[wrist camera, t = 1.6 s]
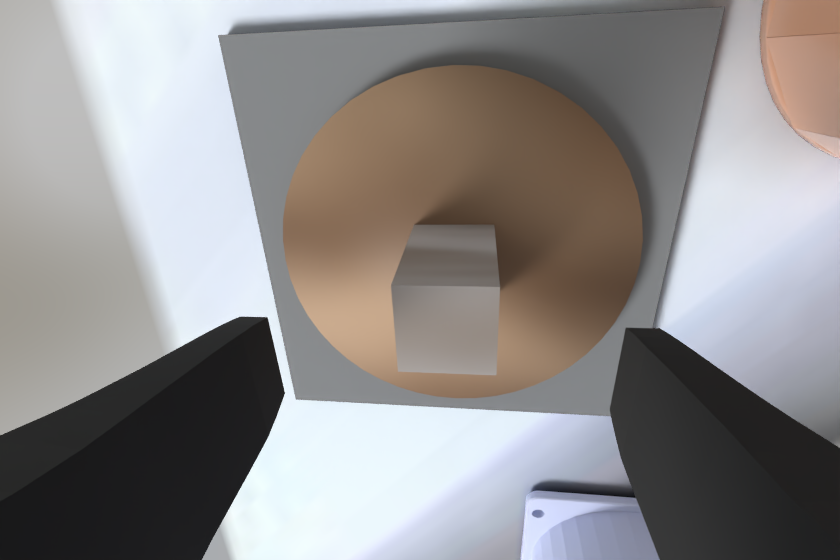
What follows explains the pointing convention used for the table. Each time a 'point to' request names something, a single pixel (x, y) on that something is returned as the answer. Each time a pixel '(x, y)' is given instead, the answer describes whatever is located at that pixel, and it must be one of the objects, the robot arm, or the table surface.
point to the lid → (462, 231)
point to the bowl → (804, 67)
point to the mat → (497, 48)
